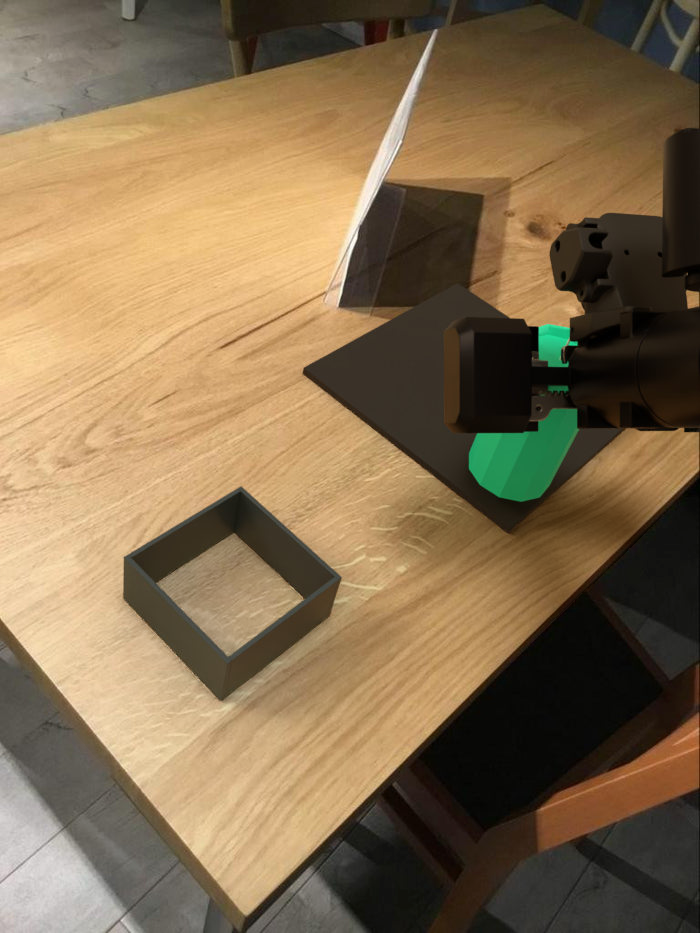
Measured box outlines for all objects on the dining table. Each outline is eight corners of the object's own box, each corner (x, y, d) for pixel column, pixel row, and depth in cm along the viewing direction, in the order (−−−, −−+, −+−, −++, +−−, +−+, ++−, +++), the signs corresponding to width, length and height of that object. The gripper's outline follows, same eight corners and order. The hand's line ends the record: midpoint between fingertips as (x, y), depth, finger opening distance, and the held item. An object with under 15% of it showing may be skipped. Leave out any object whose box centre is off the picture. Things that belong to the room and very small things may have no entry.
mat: (642, 413, 72) (645, 408, 72) (508, 533, 60) (510, 528, 60) (455, 288, 79) (457, 282, 79) (302, 373, 67) (303, 367, 67)
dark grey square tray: (329, 615, 53) (342, 577, 50) (220, 701, 48) (227, 663, 45) (234, 527, 56) (241, 485, 53) (122, 598, 51) (123, 556, 48)
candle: (535, 439, 64) (599, 307, 56) (561, 502, 60) (634, 368, 52) (458, 437, 63) (512, 301, 54) (479, 501, 59) (541, 364, 50)
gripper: (844, 214, 45) (658, 269, 60) (512, 187, 40) (399, 255, 55) (840, 431, 45) (656, 432, 60) (511, 433, 40) (400, 433, 55)
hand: (534, 386), depth 58 cm, fingers closed on candle, 5 cm apart
